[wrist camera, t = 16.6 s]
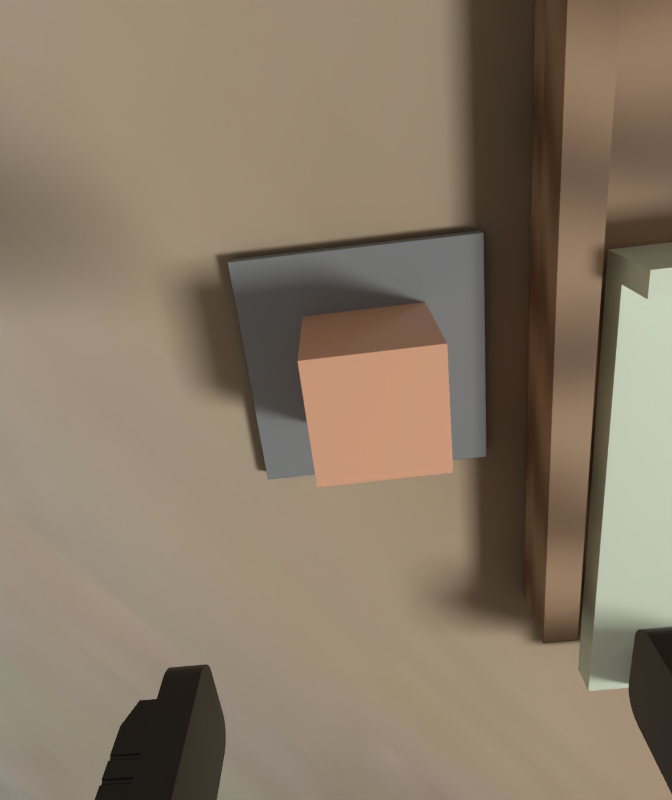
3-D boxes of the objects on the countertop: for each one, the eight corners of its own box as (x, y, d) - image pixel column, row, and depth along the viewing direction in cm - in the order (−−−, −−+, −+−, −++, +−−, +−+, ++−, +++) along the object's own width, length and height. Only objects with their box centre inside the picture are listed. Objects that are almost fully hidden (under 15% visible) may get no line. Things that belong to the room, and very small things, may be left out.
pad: (229, 259, 25) (227, 262, 24) (480, 230, 24) (483, 232, 24) (269, 472, 29) (267, 479, 28) (483, 449, 29) (486, 456, 28)
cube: (302, 316, 25) (297, 361, 21) (425, 301, 25) (447, 343, 21) (318, 425, 27) (317, 487, 23) (431, 412, 27) (453, 472, 23)
